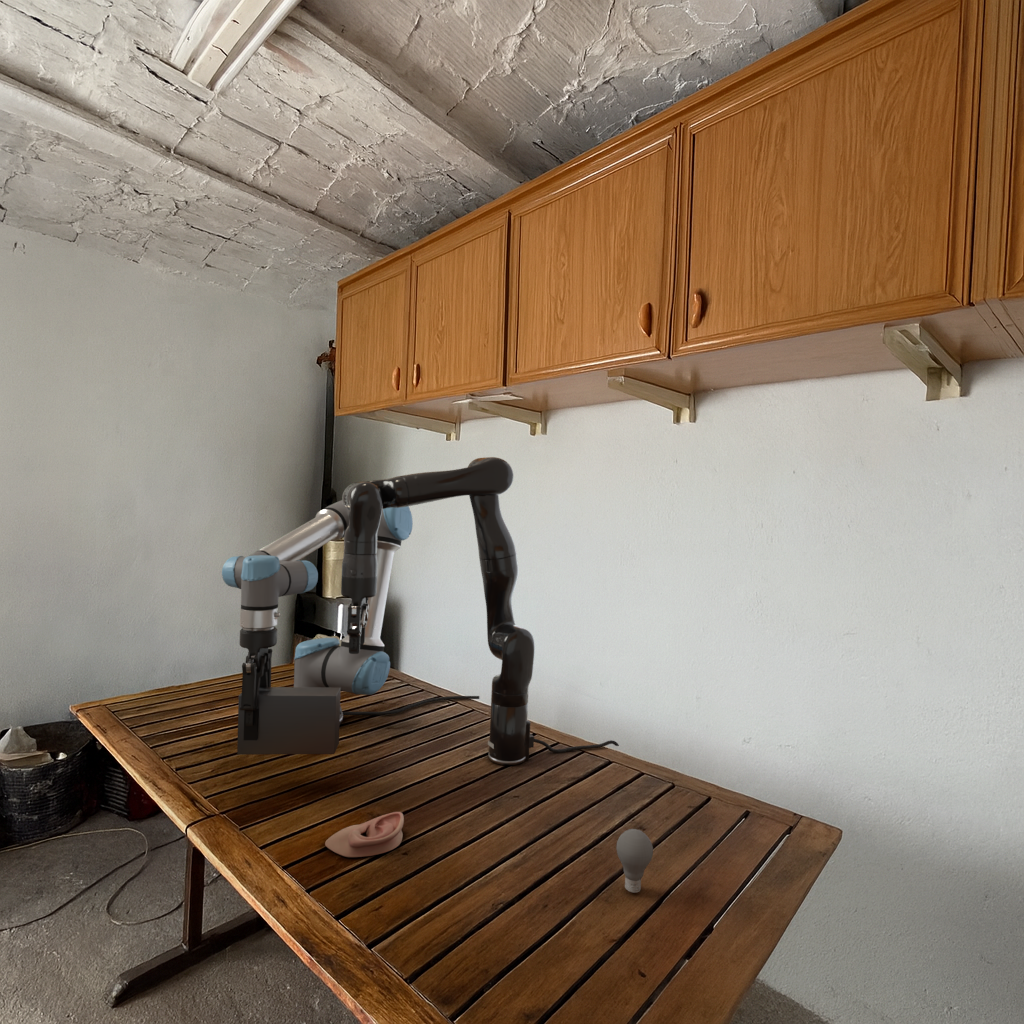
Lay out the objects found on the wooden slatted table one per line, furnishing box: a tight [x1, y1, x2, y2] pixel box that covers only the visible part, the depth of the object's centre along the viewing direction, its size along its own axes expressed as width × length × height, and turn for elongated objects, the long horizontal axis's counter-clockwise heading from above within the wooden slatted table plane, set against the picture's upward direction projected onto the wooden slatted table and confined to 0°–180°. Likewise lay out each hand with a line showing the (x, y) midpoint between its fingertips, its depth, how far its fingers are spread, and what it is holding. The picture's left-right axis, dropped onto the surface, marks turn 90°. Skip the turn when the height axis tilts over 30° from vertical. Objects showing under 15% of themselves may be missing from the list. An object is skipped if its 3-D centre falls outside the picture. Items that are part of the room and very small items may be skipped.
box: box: [236, 686, 342, 756], centre depth 138 cm, size 20×6×13 cm, turn 96°
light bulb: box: [615, 828, 654, 894], centre depth 106 cm, size 6×6×10 cm
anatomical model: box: [324, 811, 405, 858], centre depth 117 cm, size 13×4×12 cm
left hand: (255, 733), depth 137 cm, fingers closed on box, 6 cm apart
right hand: (356, 648), depth 137 cm, fingers open, 8 cm apart
